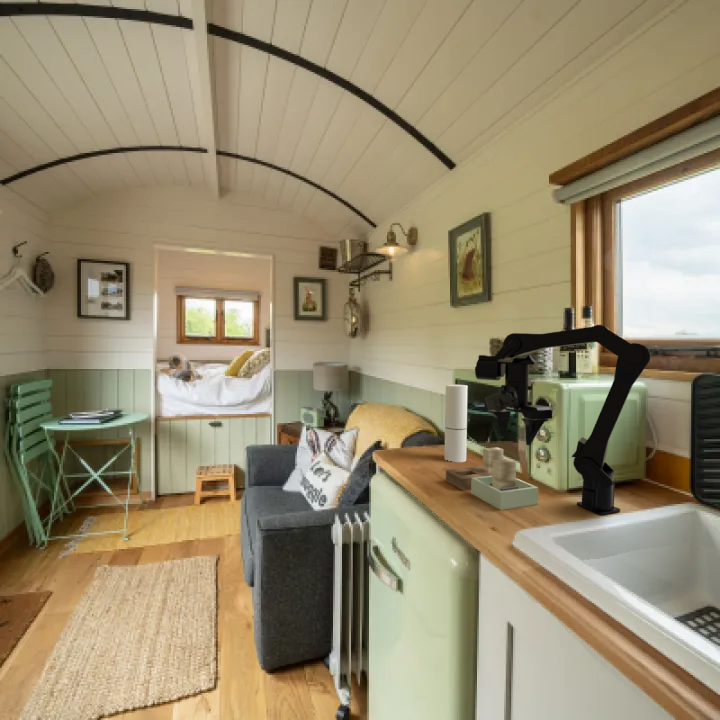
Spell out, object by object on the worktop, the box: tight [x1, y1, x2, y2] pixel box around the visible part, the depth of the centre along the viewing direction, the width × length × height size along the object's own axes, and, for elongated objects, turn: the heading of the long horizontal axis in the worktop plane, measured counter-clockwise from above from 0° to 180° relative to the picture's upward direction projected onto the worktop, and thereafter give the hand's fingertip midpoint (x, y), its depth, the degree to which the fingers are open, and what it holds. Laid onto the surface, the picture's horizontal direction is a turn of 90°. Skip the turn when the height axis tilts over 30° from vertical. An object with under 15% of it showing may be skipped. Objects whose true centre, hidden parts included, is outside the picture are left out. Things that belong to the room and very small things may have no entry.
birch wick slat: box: [492, 458, 517, 490], centre depth 96 cm, size 5×2×9 cm, turn 109°
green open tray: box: [470, 476, 539, 511], centre depth 96 cm, size 11×11×4 cm
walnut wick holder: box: [445, 465, 492, 491], centre depth 108 cm, size 17×8×3 cm, turn 110°
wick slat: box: [482, 447, 504, 473], centre depth 110 cm, size 5×2×9 cm, turn 110°
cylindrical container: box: [443, 384, 469, 463], centre depth 131 cm, size 7×7×25 cm
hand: (515, 440), depth 102 cm, fingers open, 9 cm apart
